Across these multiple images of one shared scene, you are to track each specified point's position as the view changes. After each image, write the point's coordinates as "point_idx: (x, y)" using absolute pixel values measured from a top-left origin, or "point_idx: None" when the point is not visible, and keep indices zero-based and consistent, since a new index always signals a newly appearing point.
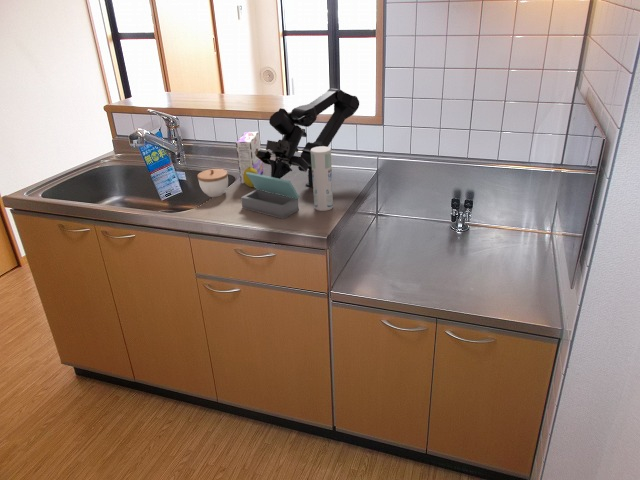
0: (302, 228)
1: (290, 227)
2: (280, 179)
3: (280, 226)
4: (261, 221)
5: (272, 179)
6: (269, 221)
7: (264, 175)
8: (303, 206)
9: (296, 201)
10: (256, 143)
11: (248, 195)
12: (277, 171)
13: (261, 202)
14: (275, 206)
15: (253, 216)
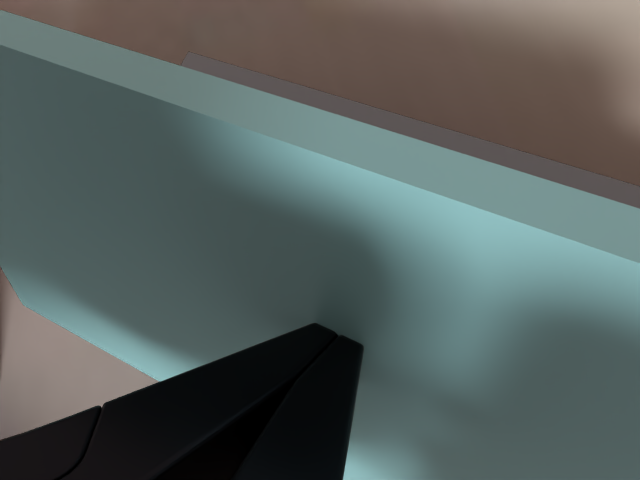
0: (84, 11)
1: (163, 5)
2: (11, 39)
3: (236, 3)
4: (415, 44)
5: (211, 85)
6: (344, 58)
7: (483, 205)
8: (94, 403)
9: None
10: None
11: None
12: (53, 449)
13: (468, 136)
14: (271, 80)
15: (535, 120)
